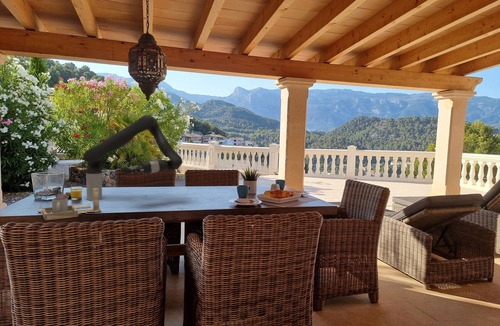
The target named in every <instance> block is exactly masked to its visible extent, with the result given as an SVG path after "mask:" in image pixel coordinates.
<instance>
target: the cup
mask: <svg viewBox="0 0 500 326" xmlns="http://www.w3.org/2000/svg"><path fill="white" fill-rule="evenodd" d="M68 200H69V199H68V197H55V198H52V199H51V202H52V203H51V205H52V206H51V207H52V213H60V212H69V211H68V206H69V203H68V202H69V201H68Z"/></svg>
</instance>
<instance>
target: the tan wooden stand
mask: <svg viewBox="0 0 500 326" xmlns="http://www.w3.org/2000/svg"><path fill="white" fill-rule="evenodd" d="M74 206H75V205H73V204H71V205H69V204H68V212H60V213H51V212H52V206H50V207H42V208H41V209H42V213H41V215H42V214H43V215H42V217H43V219H44V221H53V220H60V219H62V220H63V219H67V218H68V219H69V218H78V217H79V214H78V213H86V214H88V213H87V212H95V213H99V212H98V211H101V212H102V209H100V200H99V188H94V189H93V200H92V208H85V209H76V208H75V207H74ZM46 213H48V214H46Z"/></svg>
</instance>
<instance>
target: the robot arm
mask: <svg viewBox="0 0 500 326" xmlns="http://www.w3.org/2000/svg"><path fill="white" fill-rule="evenodd" d="M144 131H149V133H150V134H151V136H152V137H153V139H155V142H156V144H157V147H158V148H159V150H160V152H161V154H162V155H163V156H164V157H165V158H168V159H169V160H166V159H156V160H147V161H142V162H141V164H140V165H131V166H127V167H124V168H120V172H121V173H124V174H125V175H128V174H138V173H139V174H140V173H142V174H143V175H148V174H153V173H157V172H163V171H176V170H179V168H180V167H181V166H182V165H183V159H182V157H181V156H180V155H179V153H178V152H176V151H175V149H173V147H172V146H171V143H170V142H169V141H168V140H167V138H166V137H165V135H164V132H162V130H161V128H160V125H159V124H158V121H157V119H156V118H155V117H154V116H152V115H150V114H145V115H142V116H141V117H139V118H138V119H137V120H135V121H134V122H133V123H131V124H130V125H128V126H126V127H124V128H122V129H121V130H119V131H117V132H115V133H114V134H112V135H111V136H110V137H108V138H106V139H105V140H104V141H101V142H100V143H99V144H97V145H94V147H91V148H88V149H87V150H85V152H84V154H83V160H84V161H85V162H86V163H87V164H88V166H87V168H85V169H86V172H85V176H86V177H85V178H86V200H88V201H93V189H94V188H99V201H100V200H102V199H103V168H104V156H105V155H107V154H109V153H111V152H114V151H116V150H119V149H120V148H123V147H124V146H126V145H128V144H130V142H131V141H132V140H133V139H134V138H135V137H136V136H137V135H138V134H140V133H142V132H144Z"/></svg>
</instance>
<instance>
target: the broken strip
mask: <svg viewBox="0 0 500 326" xmlns="http://www.w3.org/2000/svg"><path fill="white" fill-rule="evenodd" d="M73 206H74V207H75V208H76V209H77V210H81V209H80V208H85V209H91V205H90V204H83V205H82V204H80V205H73ZM37 210H38V211H37V213H38V212H42V208H41V209H40V208H39V209H37Z"/></svg>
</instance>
